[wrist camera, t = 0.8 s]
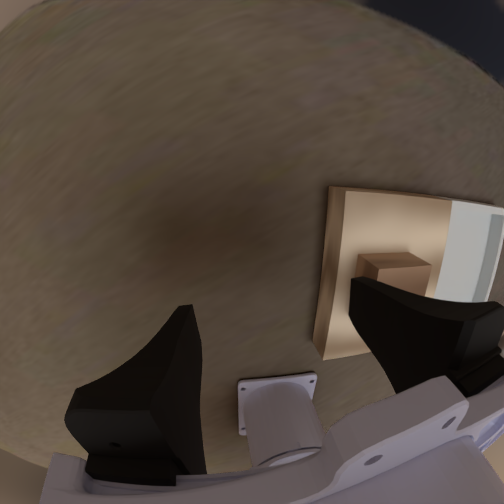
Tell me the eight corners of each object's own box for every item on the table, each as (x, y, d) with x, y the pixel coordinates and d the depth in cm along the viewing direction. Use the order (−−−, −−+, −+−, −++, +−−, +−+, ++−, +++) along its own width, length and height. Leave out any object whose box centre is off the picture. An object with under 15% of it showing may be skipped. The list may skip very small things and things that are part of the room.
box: (469, 310, 28) (481, 318, 26) (409, 324, 27) (421, 336, 25) (493, 204, 24) (508, 209, 22) (435, 195, 22) (452, 200, 20)
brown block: (397, 307, 22) (416, 324, 19) (348, 314, 21) (365, 334, 18) (409, 252, 20) (432, 265, 18) (358, 253, 20) (379, 269, 17)
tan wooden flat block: (404, 325, 27) (419, 340, 24) (312, 340, 25) (322, 360, 22) (431, 195, 22) (452, 201, 20) (328, 185, 21) (345, 190, 18)
